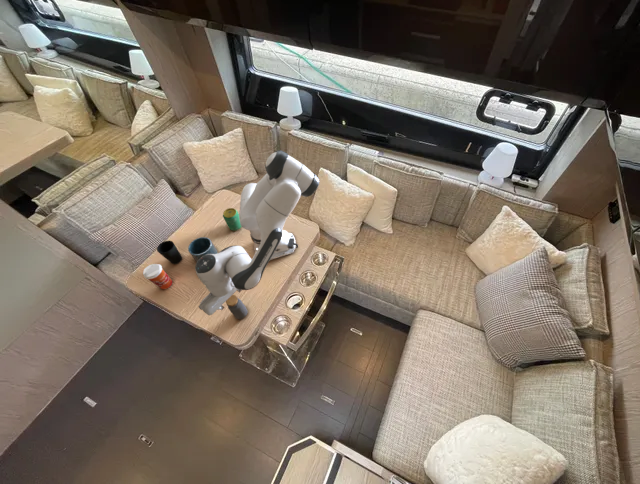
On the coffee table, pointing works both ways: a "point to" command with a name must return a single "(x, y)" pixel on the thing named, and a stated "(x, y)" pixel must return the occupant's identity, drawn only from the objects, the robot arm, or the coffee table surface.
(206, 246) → the teal ceramic mug
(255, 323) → the coffee table surface
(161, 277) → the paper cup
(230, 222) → the beverage can
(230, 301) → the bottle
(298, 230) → the coffee table surface
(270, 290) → the coffee table surface
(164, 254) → the cup
